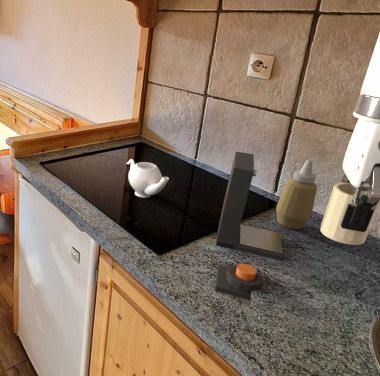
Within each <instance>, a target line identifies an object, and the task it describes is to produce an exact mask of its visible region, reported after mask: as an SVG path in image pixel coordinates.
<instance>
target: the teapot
mask: <svg viewBox="0 0 380 376" xmlns="http://www.w3.org/2000/svg"><path fill="white" fill-rule="evenodd" d="M125 164H126V165H130V169H129V171H128V176H127V178H128V179H127V180H128V182H129V184H130V186H131V188H132V190H134V195H135V196H137V197H139V198H144V199H146V198H150V197H151V196H155V195H158V194H159V193H160V192H162V190H164V188H165V187H166V185H167V184H168V183H169V180H170V178H169V177H168V176H163V174H162V173H161V170H160V168H159V167H158V166H157V165H156V164H154V163H152V162H147V161H140V162H137V163H135V160H134V159H133V158H130V159H129V160H128V161H127V162H126V163H125Z"/></svg>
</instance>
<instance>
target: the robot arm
mask: <svg viewBox="0 0 380 376" xmlns="http://www.w3.org/2000/svg"><path fill="white" fill-rule="evenodd" d="M352 116H353V117H354V118H357V122H356V123H355V126H354V129H353V131H352V134H351V137H350V140H349V142H348V145H347V148H346V151H345V154H344V156H343V157H344V158H343V161H342V171H343V172H344V174H343V176H342V178H341V180H340V183H351V184H352V185H353V186H354V187H355V189H354V193H353V198H352V203H351V204H348V206H347V209H346V211H345V214H344V217H343V220H342V223H341V227H342V228H343V229H349V230H354V231H360V232H365V231H366V230H367V228H368V225H369V223H370V220H371V218H372V215H373V212H374V210H375V209H376V206H377V203H379V200H380V33H379V34H378V37H377V40H376V44H375V46H374V49H373V52H372V56H371V58H370V62H369V65H368V67H367V70H366V73H365V77H364V80H363V82H362V87H361V89H360V92H359V95H358V97H357V101H356V105H355V107H354V110H353V112H352ZM365 184H368V185H369V186H368V187H363V186H362V185H365ZM361 191H367V192H368V193H367V195H362V196H361V197H360V193H361ZM359 197H360V198H359Z"/></svg>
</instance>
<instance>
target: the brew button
mask: <svg viewBox="0 0 380 376" xmlns="http://www.w3.org/2000/svg"><path fill="white" fill-rule="evenodd" d="M237 265H238V266H237V269H236V273H235V274H236V276H237V277H238V278H240V279H242V280H245V281H254V279H255V276H256V273H257V271H258V270H257V269H256V268H255V267H254V266H252V265H250V264H248V263H239V264H237Z"/></svg>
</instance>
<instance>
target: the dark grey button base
mask: <svg viewBox="0 0 380 376" xmlns="http://www.w3.org/2000/svg"><path fill="white" fill-rule="evenodd" d="M238 265H239V264H233V265H231V266H229V267H228V266H224V265H222V264H221V265H220V264H218V265H217V269H216V277H215V283H214V284H215V285H214V291H215V292H218V293H222V294H225V295H230V296H233V297H237V298H241V299H244V300H248V301H252V291H258V290H260V289H262V287H263V284H264V279H268V280H271V277H269V276H266V275H262V274H261V273H260V272H259V271H258V270H256V271H257V273H256V276H255V279H254V280H253V281H245V280H242V279H240V278H238V277H237V276H236V274H235V273H236V269H237V266H238Z"/></svg>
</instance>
